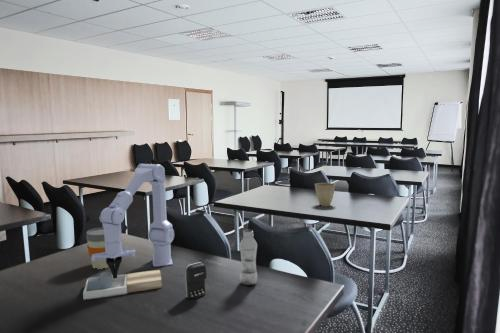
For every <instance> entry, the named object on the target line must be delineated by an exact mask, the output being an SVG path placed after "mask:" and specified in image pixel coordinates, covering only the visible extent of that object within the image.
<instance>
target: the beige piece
mask: <svg viewBox="0 0 500 333" xmlns="http://www.w3.org/2000/svg"><path fill="white" fill-rule="evenodd" d="M162 285H163V284H162V275H161V270H160V269H154V270H146V271H138V272H132V273H131V272H130V273H127V294H128V293H133V292H134V293H135V292H141V291H147V290H148V291H149V290H154V289H161V288H162V287H163V286H162Z"/></svg>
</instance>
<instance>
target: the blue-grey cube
mask: <svg viewBox="0 0 500 333" xmlns="http://www.w3.org/2000/svg"><path fill="white" fill-rule="evenodd" d="M99 276H100V288H106V287H112V284H113V277H112V276H113V275H112V272H111V271H107V272H106V271H105V272H100V273H99Z"/></svg>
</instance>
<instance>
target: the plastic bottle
mask: <svg viewBox="0 0 500 333" xmlns="http://www.w3.org/2000/svg"><path fill="white" fill-rule="evenodd" d="M242 234H243V235H242V237H243V238H242V239H241V241H240V243H239V251H240V259H241V263H240V264H241V265H240V272H239V280H240V283H242V284H243V285H245V286H252V285H255V284H256V283H257V281H258V272H257V252H258V243H257V241H256V239H255V238H254V230H253V229H243V231H242Z"/></svg>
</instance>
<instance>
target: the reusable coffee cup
mask: <svg viewBox="0 0 500 333" xmlns="http://www.w3.org/2000/svg"><path fill="white" fill-rule="evenodd" d="M85 241H86V242H87V245H86V246H87V252H88V256H89V257H90V259H91V260H90V261H91V265H92V266H91V267H92V268H93V269H95V268H97V269H96V270H104V269H103V268H105V269H110V268H109V266H108V265H107V263H106V259H101V260H95V261H92V254H97V253H102V252H105V238H104V228H103V226H102V227H95V228H91V229H88V230H87V231H86V238H85ZM114 259H115V258H114Z"/></svg>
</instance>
